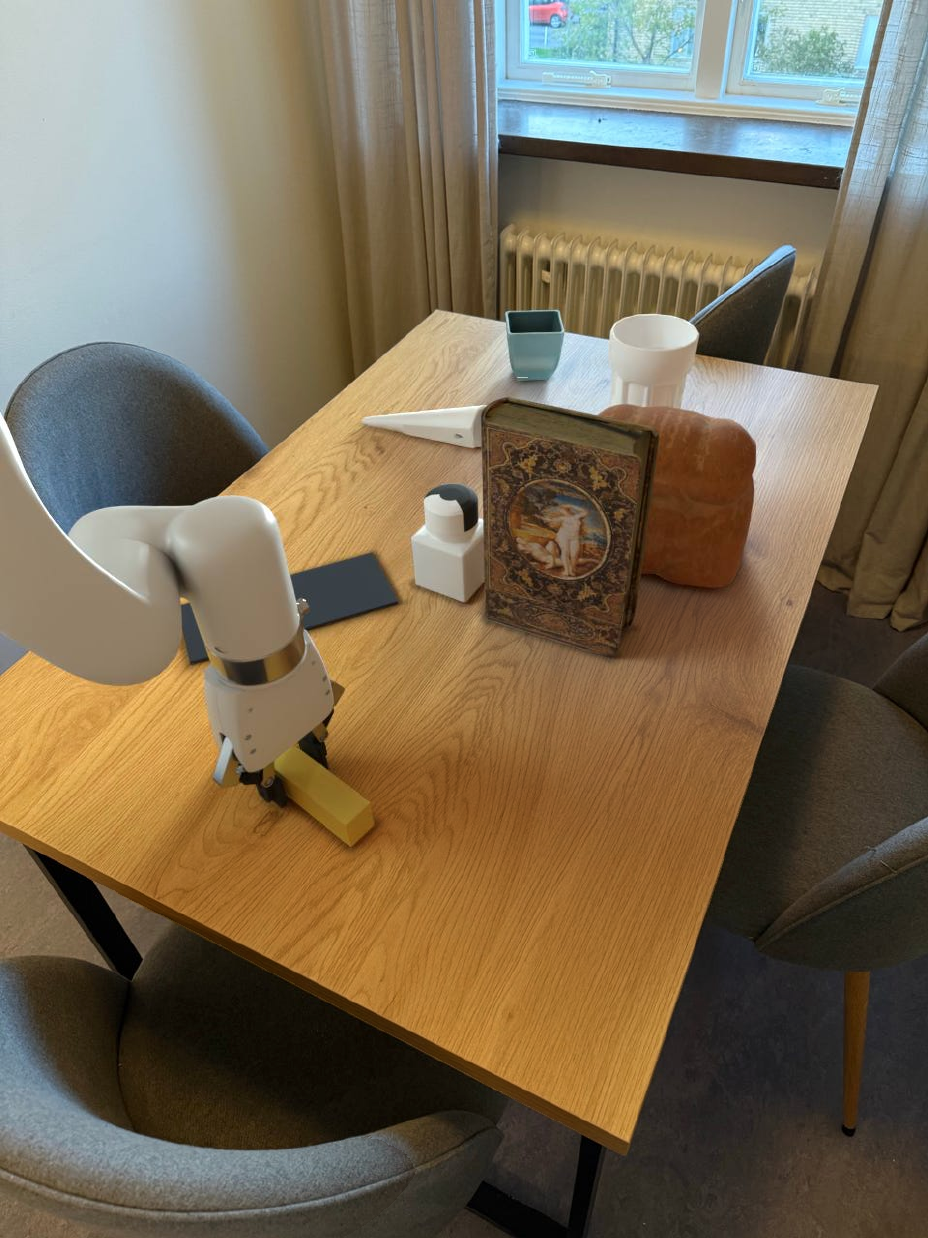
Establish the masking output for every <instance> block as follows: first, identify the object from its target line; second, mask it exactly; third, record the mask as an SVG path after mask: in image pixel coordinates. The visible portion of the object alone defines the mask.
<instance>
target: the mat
mask: <svg viewBox="0 0 928 1238" xmlns="http://www.w3.org/2000/svg"><path fill="white" fill-rule="evenodd" d="M290 578H291V582H292V586H293V591H294V595H295V599H296V600H298V599H299V598H303V599H304V600H305V601H306V602H307V603H308V605H309V607H310V611H309V612H307V613H306V614H304V617H303V618H302V624H303V628H304V629H305V630H306V631H309V630H313V629H317V628H320V627H323V626H327V625H329V624H334V623H337V622H341V621H344V620H348V619H350V618H355V617H357V616H360V615H364V614H367V613H371V612H374V611H377V610H380V609H384V608H389V607H392V606H394V605H395V606H396V605H398V604H399V599H398V598H397V596H396V594H395V592H394V590H393V587H392V586H391V584H390V582H389V581H388V579H387V577H386V575H385V573H384V571H383V569H382V567H381V565H380V564H379V562H378V560H377V558H376V557H375V555H374V553H373V552H368V553H365V554H361V555H357V556H354V557H349V558H345V559H342V560H339V561H336V562H332V563H328V564H324V565H321V566H317V567H313V568H310V569H307V570H302V571H299V572H295V573H292V574H290ZM181 614H182V637H183V640H184V644H185V647H186V652H187V657H188V662H189V664H190V665H194V664H197V663H200V662H204V661H207V660H210V659H209V657H208V654H207V651H206V648H205V645H204V642H203V639H202V636H201V633H200V630H199V627H198V624H197V621H196V619H195V616H194V613H193V610H192V607H191V605H190V603H189V602H187V603H181Z"/></svg>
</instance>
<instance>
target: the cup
mask: <svg viewBox="0 0 928 1238" xmlns="http://www.w3.org/2000/svg"><path fill="white" fill-rule="evenodd" d="M699 338H700V333H699V331H698V330H697V327H696V326H695V325H694V324H692V323H690V322H689V321H687V320H686V319H683V318H680V317H677V316H673V315H668V314H667V315H666V314H659V313H646V314H645V313H644V314H635V315H630V316H627V317H623V318H621V319H620V320H618V321H616V322H615V323H614V324H613V325H612V326H611V328H610V330H609V338H608V339H609V341H608V359H607V362H608V365H609V367H610V369H611V379H610V381H611V382H610V397H609V398H610V399H609V407H612V406H615V405H620V404H630V405H635V406H639V407H654V406H656V407H671V408H677V409H682V408H681V407H682V403H683V397H684V393H685V392H684V391H685V387H686V382H687V377H688V375H689V374H690V373H691V371H692V369H693V366H694V362H695V358H696V353H697V347H698V344H699Z"/></svg>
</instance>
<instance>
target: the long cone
mask: <svg viewBox="0 0 928 1238" xmlns="http://www.w3.org/2000/svg"><path fill="white" fill-rule="evenodd" d="M487 406H488V405H487V404H482V405H471V406H470V405H469V406H462V407H453V408H451V407H450V408H441V409H431V410H430V409H429V410H422V411H421V410H420V411H409V412H400V413H391V414H380V415H372V416H371V415H370V416H366V417H363V418H362V419H361V423H362V424H363V425H365V426H368V427H372V428H377V429H382V430H386V431H387V430H388V431H392V432H398V433H403V434H404V435H406V436H410V437H417V438H420V439H421V438H422V439H425V440H431V441H436V442H441V443H445V444H451V445H456V446H460V447H464V448H465V447H466V448H470V449H475V448H482V439H481V414H482V411H483V410H484V409H485V407H487Z"/></svg>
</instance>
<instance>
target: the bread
mask: <svg viewBox="0 0 928 1238" xmlns="http://www.w3.org/2000/svg"><path fill="white" fill-rule="evenodd" d="M597 415H598V416H603V417H608V418H613V419H617V420H622V421H627V422H632V423H637V424H642V425H647V426H652V427H655V428H656V429H657V430H658V432H659V445H658V453H657V460H656V467H655V475H654V482H653V489H652V497H651V504H650V511H649V519H648V526H647V533H646V541H645V548H644V555H643V562H642V570H641V575H657V576H658V577H660V578H662V579H664V580H665V581H667V582H669V583H670V584H671V583H672V584H679V585H686V586H693V587H702V588H709V589H716V588H721V587H725V586H729V585H730V584H731V583H732V582H733V581H734V579H735V577H736V574H737V572H738V569H739V567H740V564H741V561H742V559H743V555H744V552H745V547H746V543H747V539H748V535H749V530H750V527H751V522H752V516H753V510H754V509H753V508H754V502H755V501H754V500H755V480H754V476H753V475H754V472H755V469H756V466H757V464H756V463H757V444H756V441H755V440H754V438H753V436H752V435H751V433H749V432H748V430H747V429H746V428H744V427H743V426H742V424H740V423H738V422H736V421H735V420H733V419H730V418H723V417H713V416H709V415H706V414H704V413H700V412H697V411H695V410H688V409H683V408H680V409H677V408H671V407H656V406H654V407H639V406H635V405H630V404H620V405H615V406H612V407H610V406H608V407H607V408H605V409H604V410H602V411H600V412H599V413H598V414H597Z"/></svg>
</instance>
